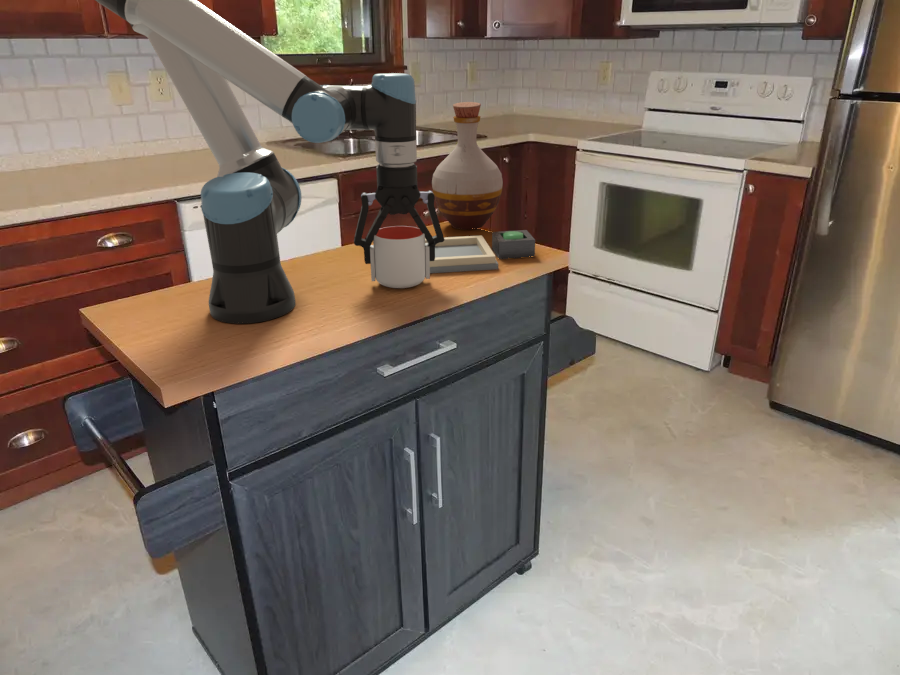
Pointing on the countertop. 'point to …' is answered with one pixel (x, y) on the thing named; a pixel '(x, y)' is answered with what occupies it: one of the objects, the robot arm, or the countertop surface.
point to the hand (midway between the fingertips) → (400, 277)
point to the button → (513, 235)
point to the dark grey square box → (513, 245)
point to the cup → (399, 256)
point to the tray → (463, 255)
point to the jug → (467, 175)
